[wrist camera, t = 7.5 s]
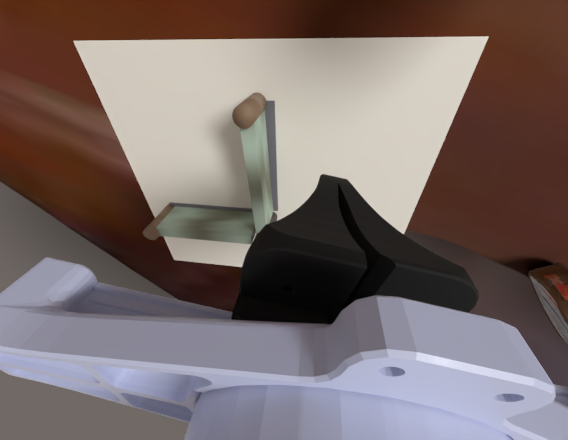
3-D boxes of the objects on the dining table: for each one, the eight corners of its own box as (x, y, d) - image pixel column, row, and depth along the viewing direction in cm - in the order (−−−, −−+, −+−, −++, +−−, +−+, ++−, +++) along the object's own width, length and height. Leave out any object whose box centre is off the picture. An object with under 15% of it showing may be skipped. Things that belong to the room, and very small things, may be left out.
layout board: (382, 278, 29) (383, 282, 29) (175, 257, 32) (173, 260, 32) (484, 36, 14) (489, 36, 14) (78, 40, 17) (71, 40, 17)
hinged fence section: (275, 210, 24) (267, 237, 20) (261, 210, 24) (252, 236, 21) (265, 92, 17) (252, 104, 14) (247, 92, 17) (230, 105, 14)
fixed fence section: (277, 211, 24) (268, 242, 20) (277, 222, 25) (269, 254, 21) (164, 202, 25) (137, 230, 22) (169, 214, 26) (144, 242, 23)
